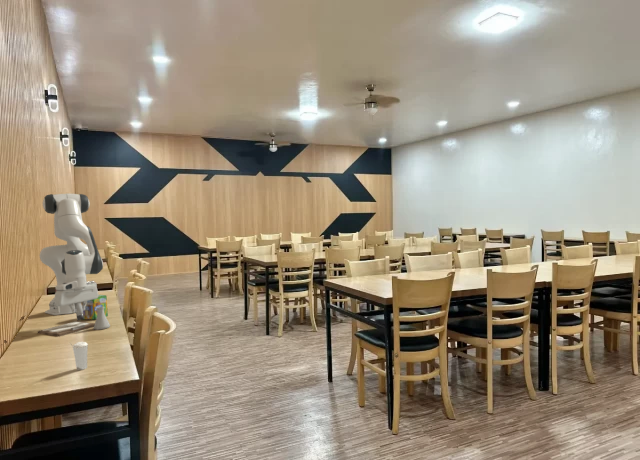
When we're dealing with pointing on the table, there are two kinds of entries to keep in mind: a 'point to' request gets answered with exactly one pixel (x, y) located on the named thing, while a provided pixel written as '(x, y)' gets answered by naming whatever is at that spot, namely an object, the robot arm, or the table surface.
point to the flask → (101, 320)
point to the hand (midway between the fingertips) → (78, 311)
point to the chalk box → (95, 307)
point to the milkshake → (80, 355)
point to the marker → (79, 311)
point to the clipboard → (67, 328)
